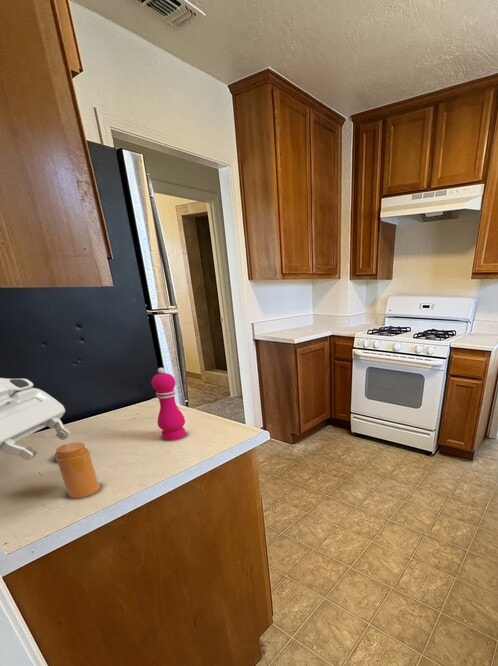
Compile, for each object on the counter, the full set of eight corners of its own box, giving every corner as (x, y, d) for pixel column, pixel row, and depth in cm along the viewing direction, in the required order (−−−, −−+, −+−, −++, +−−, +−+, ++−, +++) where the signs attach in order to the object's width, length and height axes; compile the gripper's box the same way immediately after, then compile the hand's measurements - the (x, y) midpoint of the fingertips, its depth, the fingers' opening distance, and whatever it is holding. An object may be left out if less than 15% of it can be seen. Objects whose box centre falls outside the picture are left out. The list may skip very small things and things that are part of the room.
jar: (65, 500, 72) (48, 454, 68) (73, 486, 77) (59, 443, 73) (95, 495, 74) (81, 450, 70) (102, 482, 79) (89, 439, 74)
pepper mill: (187, 429, 107) (175, 363, 99) (187, 438, 100) (174, 369, 93) (161, 433, 104) (146, 366, 96) (160, 442, 98) (144, 371, 90)
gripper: (-65, 407, 58) (15, 460, 61) (33, 376, 77) (90, 418, 80) (-78, 432, 60) (0, 482, 63) (21, 396, 79) (76, 436, 82)
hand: (51, 446), depth 72 cm, fingers open, 8 cm apart
